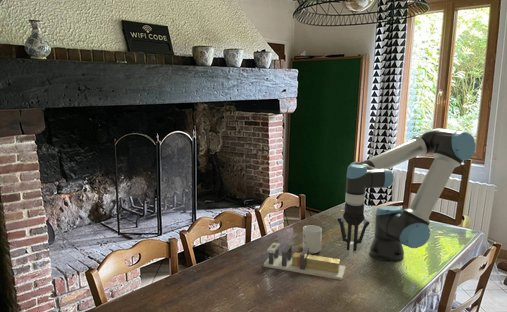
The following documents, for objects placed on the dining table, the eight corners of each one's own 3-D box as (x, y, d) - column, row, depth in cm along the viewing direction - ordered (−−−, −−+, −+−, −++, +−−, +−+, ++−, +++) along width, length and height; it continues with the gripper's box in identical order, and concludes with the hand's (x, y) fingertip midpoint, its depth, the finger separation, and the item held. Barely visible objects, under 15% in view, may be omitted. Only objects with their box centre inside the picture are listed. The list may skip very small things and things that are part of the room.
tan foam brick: (339, 268, 167) (340, 258, 166) (338, 273, 163) (338, 263, 162) (294, 261, 174) (294, 251, 173) (291, 265, 170) (292, 255, 169)
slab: (345, 268, 170) (345, 266, 169) (341, 280, 160) (342, 277, 159) (271, 256, 182) (271, 254, 181) (263, 266, 171) (263, 264, 171)
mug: (324, 252, 186) (325, 230, 184) (308, 255, 182) (309, 233, 180) (311, 243, 197) (311, 222, 195) (295, 246, 193) (296, 224, 191)
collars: (308, 261, 174) (309, 247, 173) (304, 269, 166) (304, 255, 165) (273, 255, 180) (273, 242, 179) (267, 263, 172) (267, 249, 171)
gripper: (372, 202, 159) (368, 256, 163) (339, 198, 164) (336, 251, 168) (370, 207, 152) (366, 264, 156) (336, 203, 157) (333, 258, 161)
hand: (351, 257), depth 162 cm, fingers closed
